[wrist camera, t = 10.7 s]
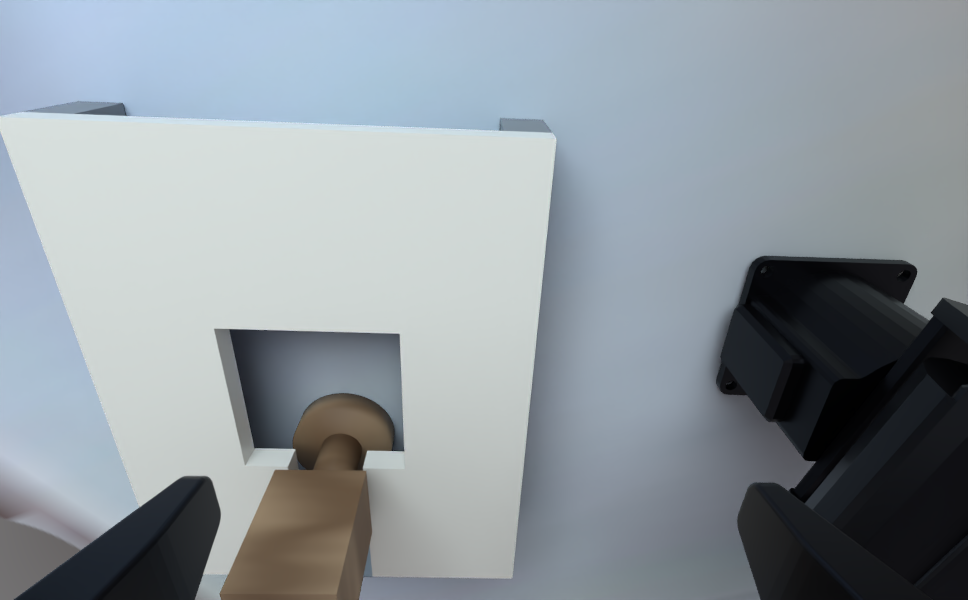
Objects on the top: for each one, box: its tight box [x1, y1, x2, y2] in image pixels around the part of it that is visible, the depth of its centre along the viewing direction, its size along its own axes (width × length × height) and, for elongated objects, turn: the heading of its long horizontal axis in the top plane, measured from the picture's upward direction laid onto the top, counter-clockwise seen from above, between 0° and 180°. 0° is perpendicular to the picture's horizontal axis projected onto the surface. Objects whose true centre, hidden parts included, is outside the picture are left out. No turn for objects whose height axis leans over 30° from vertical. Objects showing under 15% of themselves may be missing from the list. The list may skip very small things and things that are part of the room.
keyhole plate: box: [0, 101, 557, 579], centre depth 21 cm, size 16×20×4 cm
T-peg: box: [220, 393, 394, 600], centre depth 21 cm, size 4×4×9 cm
